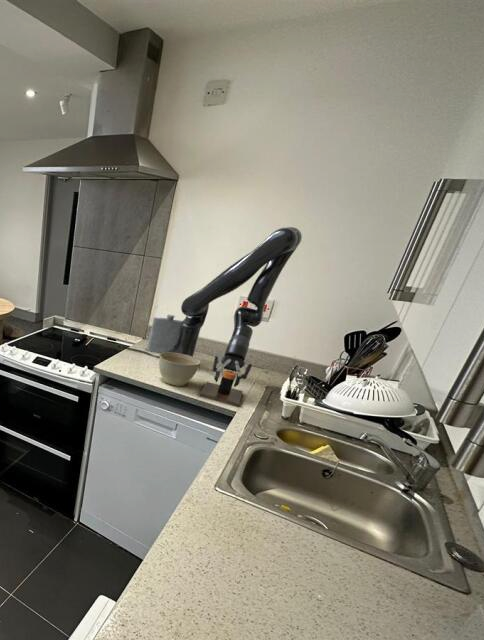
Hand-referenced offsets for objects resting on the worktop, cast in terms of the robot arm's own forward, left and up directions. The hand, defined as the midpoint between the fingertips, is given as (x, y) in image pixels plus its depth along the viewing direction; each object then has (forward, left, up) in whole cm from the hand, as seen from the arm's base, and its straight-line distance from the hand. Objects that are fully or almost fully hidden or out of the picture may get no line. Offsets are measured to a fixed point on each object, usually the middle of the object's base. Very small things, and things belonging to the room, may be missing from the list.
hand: (225, 383), depth 157 cm
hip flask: (-34, +42, -6) cm, 54 cm away
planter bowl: (-19, +2, -6) cm, 20 cm away
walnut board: (0, +2, -6) cm, 6 cm away
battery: (0, +1, -5) cm, 5 cm away
